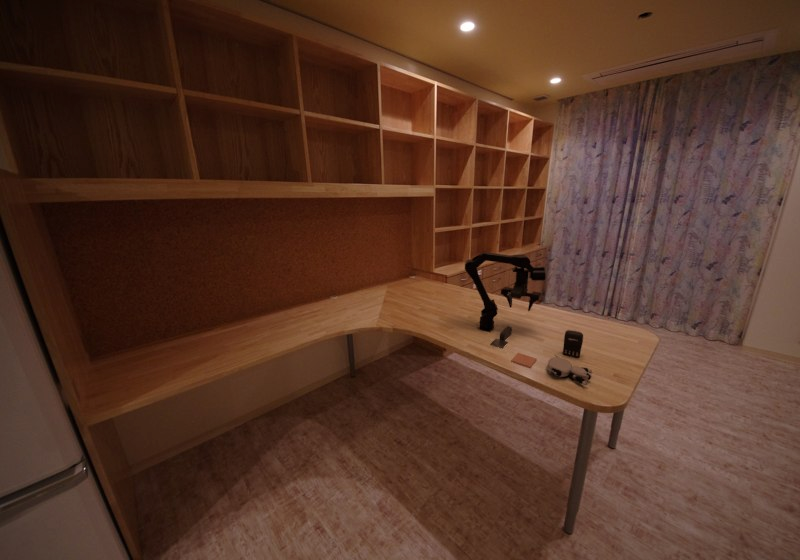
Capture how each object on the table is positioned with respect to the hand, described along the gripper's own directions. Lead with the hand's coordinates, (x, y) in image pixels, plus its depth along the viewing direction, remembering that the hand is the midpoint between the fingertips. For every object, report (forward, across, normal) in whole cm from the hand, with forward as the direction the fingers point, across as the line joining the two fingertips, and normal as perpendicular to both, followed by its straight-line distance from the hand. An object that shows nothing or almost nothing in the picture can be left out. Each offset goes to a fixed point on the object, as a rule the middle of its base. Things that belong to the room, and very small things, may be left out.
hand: (519, 309), depth 150 cm
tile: (+12, +12, -24) cm, 29 cm away
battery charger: (+12, +27, -11) cm, 31 cm away
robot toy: (+12, +29, -27) cm, 42 cm away
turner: (+12, -2, -15) cm, 19 cm away
